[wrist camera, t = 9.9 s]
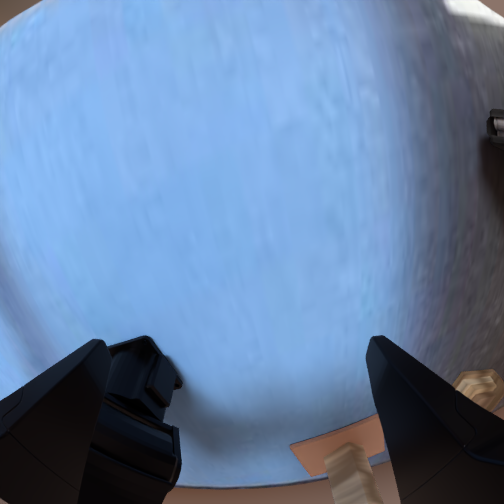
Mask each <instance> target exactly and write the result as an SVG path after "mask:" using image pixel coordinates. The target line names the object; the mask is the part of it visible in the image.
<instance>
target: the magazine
mask: <svg viewBox="0 0 504 504" xmlns="http://www.w3.org/2000/svg"><path fill="white" fill-rule="evenodd" d="M487 134H488V135H489V136H490V138H491V143H492V145H493V146H495V147H497V148H499V149H501V150H503V151H504V110H501V109H492V110H491V111H490V117H489V118H488V120H487Z"/></svg>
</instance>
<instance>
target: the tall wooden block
mask: <svg viewBox="0 0 504 504" xmlns="http://www.w3.org/2000/svg"><path fill="white" fill-rule="evenodd" d="M323 458H324V462H325V466H326V470H327V474H328V478H329V482H330V486H331V490H332V494H333V498H334V502H335V504H383V501H382V498H381V495H380V492H379V489H378V486H377V484H376V481H375V478H374V475H373V472H372V470H371V467H370V464H369V461H368V458H367V456H366V453H365V450H364V448H363V445H359V444H355V443H351V442H347V443H345V444H344V445H342V446H341V447H339V448H338V449H336V450H335V451H333V452H331V453H330V454H328V455H326V456H325V457H323Z"/></svg>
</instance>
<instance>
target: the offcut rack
mask: <svg viewBox="0 0 504 504" xmlns="http://www.w3.org/2000/svg"><path fill="white" fill-rule="evenodd" d="M452 386H453V387H454V388H455V389H456V390H458V391H460V392H461V393H462V394H464V395H465V396H466V397H468V398H469V399H471V400H472V401H474V402H475V403H476V404H478V405H480V406H481V407H483V408H484V409H486V410H488V411H489V412H491V411H492V410H493V409H494V408H495V407H496V405H497V404H498V403H499V402H500V400H501V399H502V398H503V396H504V381H503V380H502V379H501V378H500V376H499V375H498V374H497V373H496V372H495V371H494V370H493V369H488V370H478V371H465V372H461V373H460V375H459V376H458V378H457V379H456V380H455V382H454V383H453V385H452Z"/></svg>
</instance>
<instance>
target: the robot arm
mask: <svg viewBox="0 0 504 504" xmlns="http://www.w3.org/2000/svg"><path fill="white" fill-rule="evenodd" d="M144 340H145V341H147V342H145V341H144ZM366 363H367V368H368V373H369V378H370V384H371V389H372V394H373V399H374V403H375V406H376V409H377V413H378V416H379V419H380V423H381V426H382V430H383V433H384V437H385V441H386V444H387V448H388V452H389V455H390V459H391V463H392V467H393V471H394V475H395V479H396V484H397V488H398V492H399V497H400V500H401V504H504V420H503V419H501V418H499V417H498V416H496V415H494V414H493V413H491V412H489V411H488V410H486V409H484V408H483V407H481V406H480V405H478V404H476V403H475V402H474V401H472V400H471V399H469V398H468V397H466V396H465V395H464V394H462V393H461V392H460V391H458V390H456V389H455V388H454V387H453V386H451V385H450V384H449V383H447V382H446V381H445V380H443V379H442V378H441V377H439V376H438V375H437V374H435V373H434V372H433V371H431V370H430V369H429V368H427V367H426V366H425V365H423V364H422V363H420V362H419V361H418V360H416V359H415V358H414V357H412V356H411V355H410V354H408V353H407V352H406V351H404V350H403V349H401V348H400V347H399V346H397V345H396V344H395V343H393V342H392V341H391V340H389V339H388V338H386V337H385V336H383V335H379V336H373V337H371V339H370V342H369V345H368V349H367V353H366ZM181 387H182V381H181V380H180V378H179V377H178V376H177V373H176V372H175V371H174V369H173V368H172V367H171V365H170V364H169V362H168V361H167V360H166V358H165V357H164V356H163V355H162V354H161V353H160V351H159V350H158V348H157V347H156V345H155V344H154V343H153V341H152V340H151V338H150V337H148V336H146V335H144V336H140V337H137V338H134V339H131V340H128V341H124V342H121V343H118V344H114V345H111V346H108V347H107V346H106V343H105V342H104V341H103V340H101V339H92V340H90V341H89V342H87V343H86V344H84V345H83V346H81V347H80V348H78V349H77V350H75V351H74V352H72V353H71V354H69V355H68V356H66V357H65V358H64V359H62V360H61V361H59V362H58V363H56V364H55V365H53V366H52V367H50V368H49V369H47V370H46V371H44V372H43V373H41V374H40V375H38V376H37V377H35V378H34V379H33V380H31V381H30V382H28V383H27V384H25V385H24V386H22V387H21V388H19V389H18V390H17V391H15V392H14V393H12V394H10V395H9V396H7V397H6V398H4V399H2V400H1V401H0V504H162V502H163V500H164V498H165V496H166V494H167V493H168V492H170V491H171V490H172V489H173V487H174V486H175V484H176V482H177V480H178V478H179V475H180V471H181V465H182V459H181V449H180V438H179V428H177V427H175V426H173V425H172V426H170V425H168V424H166V423H164V422H163V419H164V414H165V410H166V407H169V406H170V402H171V398H172V393H173V390H176V389H180V388H181Z"/></svg>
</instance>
